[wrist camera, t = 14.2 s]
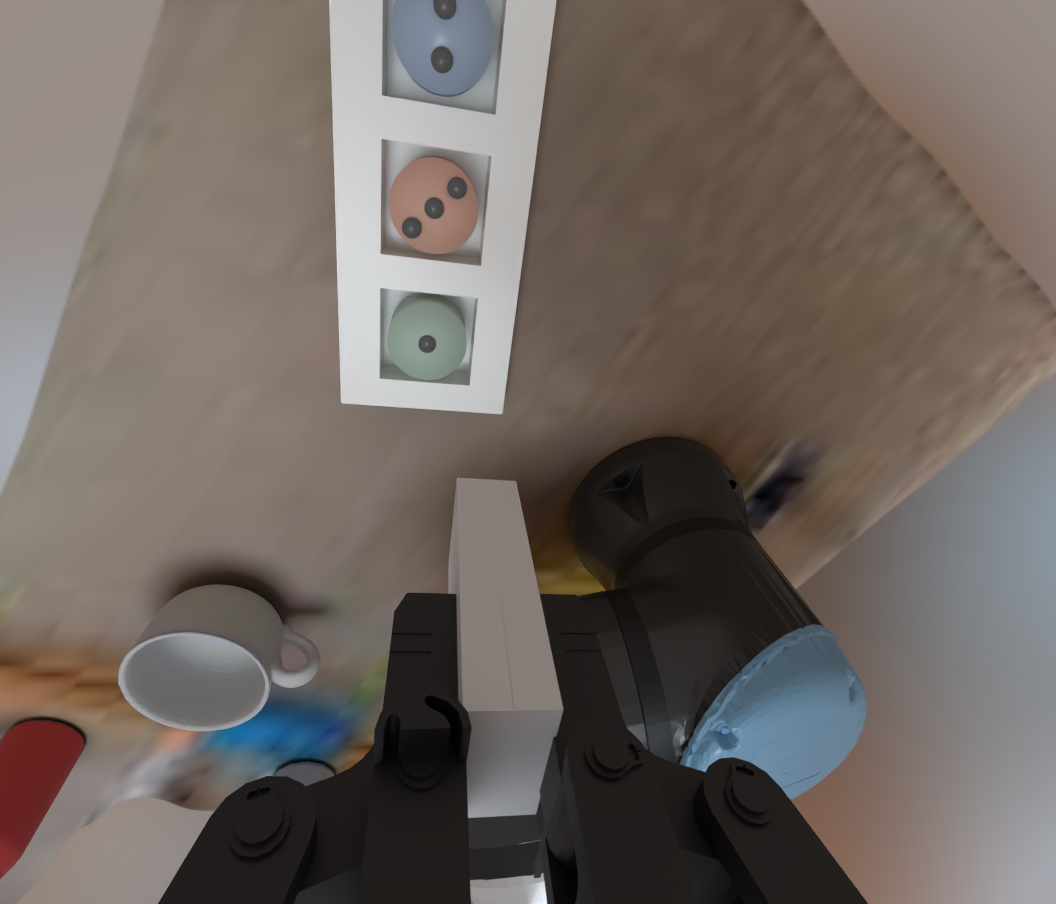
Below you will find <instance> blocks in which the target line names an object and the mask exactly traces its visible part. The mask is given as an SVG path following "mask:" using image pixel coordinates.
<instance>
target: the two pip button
mask: <svg viewBox="0 0 1056 904" xmlns="http://www.w3.org/2000/svg"><path fill="white" fill-rule="evenodd" d="M391 24H392V37H393V42H394V46H395V49H396V52H397V55H398V57H399V59H400V61H401V63H402V65H403V66H404V68H405V69H406V71H407V73H408V74H409V76H410V77H411V78H412V79H413V81H414V82H415V83H416V84H417V85H419V86H420V87H421V88H422V89H424V90H426V91H427V92H429V93H431V94H434V95H437V96H442V97H453V96H457V95H460V94H463V93H465V92H466V91H468V90H469V89H471V88H472V87H473V86H474V85H475V84H476V83H477V82H478V80H479V79H480V78H481V76H482V75H483V73H484V72H485V70H486V68H487V66H488V64H489V61H490V59H491V55H492V51H493V44H494V29H493V22H492V17H491V14H490V10H489V8H488V5H487V3H486V1H485V0H395V4H394V7H393V12H392V23H391Z"/></svg>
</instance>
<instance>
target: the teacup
mask: <svg viewBox="0 0 1056 904" xmlns="http://www.w3.org/2000/svg"><path fill="white" fill-rule="evenodd" d="M283 646H288V647H291V648H294V649H296V650H298V651H300V652H301V653H303V654H304V655H305V656H306V657H307V659H308V661H307V663H306V664H305V666H303V667H302V668H301V669H298V670H294V671H290V670H285V669H284V668H283V667H282V659H281V653H282V648H283ZM319 665H320V657H319V652H318V649H317V648H316V646H315V645H314V644H313V643H312V642H311V641H310V640H308V639H307V638H305V637H303V636H301V635H299V634H297V633H295V632H293V630H292V628H291V627H290V626H288V625H283V624H282V622H281V619H280V617H279V615H278V613H277V612H276V610H275V609H274V608H273V607H272V605H271V604H270V603H269V602H267V601H266V600H265V599H264V598H262V597H261V596H259V595H258V594H256V593H254V592H252V591H249V590H246V589H244V588H240V587H236V586H232V585H219V584H215V585H204V586H200V587H196V588H192V589H189V590H187V591H185V592H183V593H181V594H179V595H177V596H176V597H174V598H173V599H171V600H170V601H169V602H168V603H167V604H165V605H164V606H163V607H162V609H161V610H160V611H159V612H158V613H157V614H156V616H155V617H154V618H153V620H152V621H151V622H150V624H149V625H148V627H147V628H146V629H145V631H144V632H143V634H142V635H141V637H140V638H139V640H138V641H137V643H136V644H135V646H134V647H133V648H132V649H131V650H130V651H129V652H128V653H127V654H126V656H125V657H124V659H123V660H122V662H121V666H120V669H119V675H118V683H119V686H120V688H121V691H122V693H123V695H124V697H125V699H126V700H127V701H128V702H129V703H130V704H131V705H132V707H134V708H135V709H136V710H138V711H139V712H140V713H142V714H143V715H145V716H146V717H148V718H150V719H152V720H154V721H157V722H159V723H161V724H164V725H166V726H170V727H173V728H179V729H183V730H188V731H214V730H221V729H227V728H230V727H234V726H237V725H240V724H242V723H244V722H246V721H248V720H249V719H251V718H252V717H254V716H255V715H256V714H257V713H258V712H259V711H260V710H261V709H262V708H263V707H264V705H265V703H266V701H267V699H268V696H269V693H270V689H271V683H272V682H275V683H276V684H278V685H280V686H283V687H289V688H293V687H299V686H302V685H304V684H306V683H307V682H309V681H310V680H311V679H312V678H313V677H314V676H315V674H316V673H317V671H318V669H319Z"/></svg>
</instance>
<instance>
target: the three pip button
mask: <svg viewBox="0 0 1056 904" xmlns="http://www.w3.org/2000/svg"><path fill="white" fill-rule="evenodd" d="M478 209H479V208H478V200H477V195H476V192H475V189H474V187H473V185H472V183H471V181H470V179H469V178H468V176H467V175H466V173H465V172H464V171H463V170H462V169H461V168H460V167H459V166H458V165H456V164H455V163H454V162H452V161H450V160H448V159H445V158H443V157H438V156H425V157H421V158H418V159H415V160H414V161H412V162H410V163H409V164H408V165H407V166H405V167H404V168H403V169H402V170H401V171H400V173H399V174H398V175H397V177H396V178H395V180H394V182H393V184H392V187H391V190H390V195H389V210H390V216H391V219H392V222H393V224H394V227H395V228H396V230H397V232H398V233H399V235H400V236H401V237H402V238H403V239H404V240H405V241H406V242H407V243H408V244H409V245H410V246H412V247H414V248H415V249H417V250H419V251H422V252H425V253H429V254H445V253H449V252H452V251H454V250H456V249H458V248H459V247H461V246H462V245H463V244H464V243H465V242H466V241H467V240H468V239H469V238H470V236H471V235H472V233H473V231H474V229H475V227H476V224H477V220H478Z"/></svg>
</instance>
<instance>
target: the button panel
mask: <svg viewBox="0 0 1056 904" xmlns="http://www.w3.org/2000/svg"><path fill="white" fill-rule="evenodd" d="M485 1H486V3H487V5H488V8H489V10H490V14H491V17H492V22H493V29H494V44H493V51H492V55H491V59H490V61H489V64H488V66H487V68H486V70H485V72H484V73H483V75H482V76H481V78H480V79H479V80H478V82H477V83H476V84H475V85H474V86H473V87H472V88H471V89H469V90H468V91H466V92H465V93H463V94H460V95H457V96H453V97H442V96H437V95H434V94H431V93H429V92H427V91H426V90H424V89H422V88H421V87H420V86H419V85H417V84H416V83H415V82H414V81H413V79H412V78H411V77H410V76H409V74H408V73H407V71H406V69H405V68H404V66H403V65H402V63H401V61H400V59H399V57H398V55H397V52H396V49H395V46H394V42H393V37H392V24H391V23H392V12H393V7H394V4H395V0H329V8H330V42H331V76H332V110H333V143H334V177H335V211H336V245H337V279H338V313H339V346H340V380H341V403H346V404H361V405H375V406H389V407H404V408H418V409H433V410H447V411H462V412H476V413H490V414H502V412H503V405H504V397H505V389H506V382H507V374H508V366H509V359H510V351H511V344H512V336H513V328H514V321H515V313H516V305H517V298H518V290H519V283H520V275H521V267H522V260H523V252H524V244H525V237H526V229H527V222H528V214H529V206H530V199H531V191H532V183H533V176H534V168H535V160H536V153H537V145H538V138H539V130H540V122H541V115H542V107H543V99H544V92H545V84H546V77H547V69H548V61H549V54H550V46H551V38H552V31H553V23H554V16H555V8H556V0H485ZM425 156H438V157H443V158H445V159H448V160H450V161H452V162H454V163H455V164H456V165H458V166H459V167H460V168H461V169H462V170H463V171H464V172H465V173H466V175H467V176H468V178H469V179H470V181H471V183H472V185H473V187H474V189H475V192H476V195H477V200H478V208H479V209H478V220H477V224H476V227H475V229H474V231H473V233H472V235H471V236H470V238H469V239H468V240H467V241H466V242H465V243H464V244H463V245H462V246H461V247H459V248H458V249H456V250H454V251H452V252H449V253H445V254H429V253H425V252H422V251H419V250H417V249H415V248H414V247H412V246H410V245H409V244H408V243H407V242H406V241H405V240H404V239H403V238H402V237H401V236H400V235H399V233H398V232H397V230H396V228H395V227H394V224H393V222H392V219H391V216H390V210H389V195H390V190H391V187H392V184H393V182H394V180H395V178H396V177H397V175H398V174H399V173H400V171H401V170H402V169H403V168H404V167H405V166H407V165H408V164H409V163H410V162H412V161H414V160H415V159H418V158H421V157H425ZM421 292H423V293H432V294H439V295H442V296H444V297H446V298H447V299H449V300H450V301H451V302H453V303H454V304H455V305H456V306H457V308H458V309H459V311H460V312H461V314H462V317H463V319H464V323H465V332H466V342H467V345H466V353H465V356H464V358H463V361H462V362H461V364H460V365H459V366H458V368H457V369H456V370H455V371H453V372H452V373H451V374H449V375H447V376H445V377H443V378H440V379H436V380H422V379H417V378H414V377H411V376H409V375H407V374H406V373H404V372H403V371H402V370H400V369H399V368H398V367H397V366H396V364H395V363H394V362H393V360H392V358H391V356H390V354H389V351H388V347H387V334H388V330H389V326H390V323H391V319H392V316H393V313H394V311H395V309H396V307H397V306H398V305H399V304H400V303H401V302H402V301H403V300H404V299H405V298H407V297H409V296H411V295H413V294H416V293H421Z"/></svg>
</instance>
